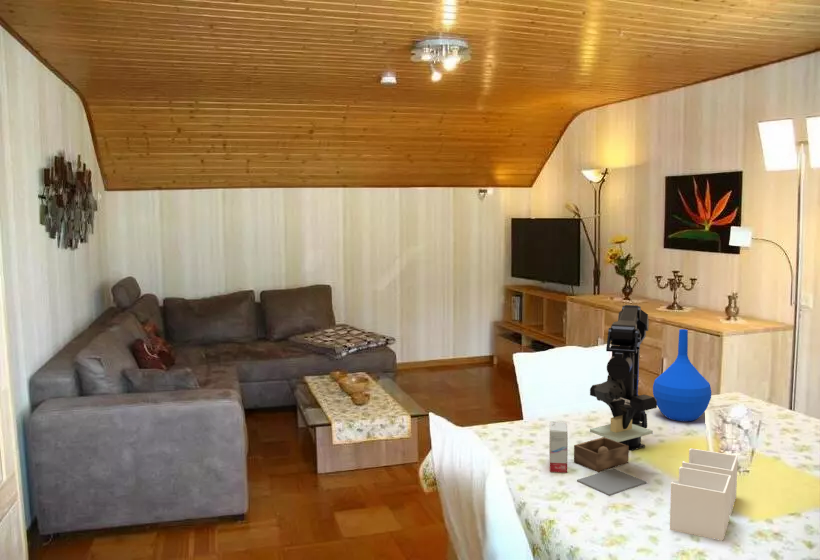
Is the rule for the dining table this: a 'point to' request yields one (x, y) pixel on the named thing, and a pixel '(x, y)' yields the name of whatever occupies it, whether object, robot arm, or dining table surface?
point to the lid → (620, 430)
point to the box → (601, 454)
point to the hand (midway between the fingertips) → (621, 427)
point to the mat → (611, 481)
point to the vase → (682, 387)
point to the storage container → (704, 494)
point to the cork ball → (602, 449)
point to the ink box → (558, 447)
